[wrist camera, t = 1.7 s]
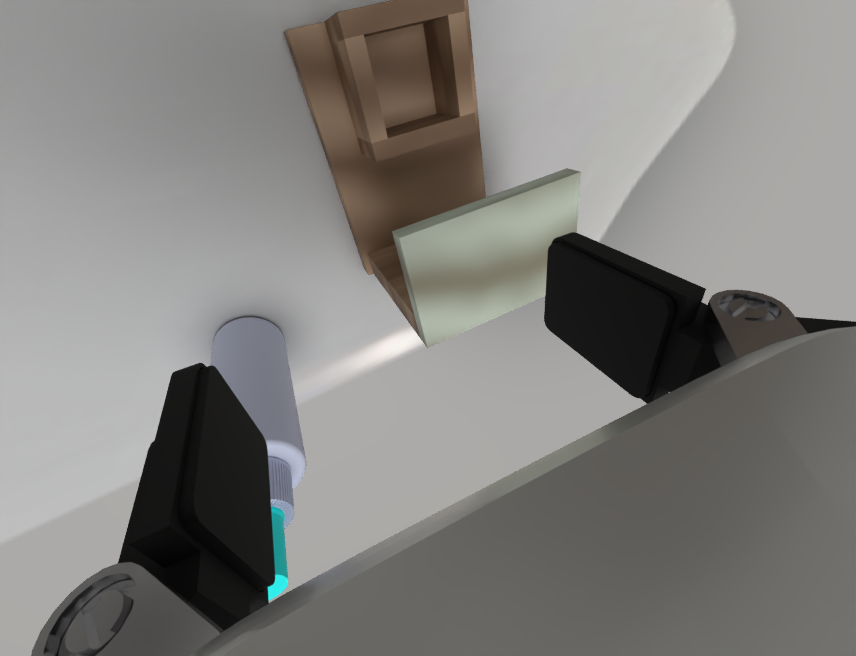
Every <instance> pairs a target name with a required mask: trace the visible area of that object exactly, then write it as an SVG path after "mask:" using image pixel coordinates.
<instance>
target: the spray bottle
mask: <svg viewBox="0 0 856 656" xmlns="http://www.w3.org/2000/svg"><path fill="white" fill-rule="evenodd" d="M211 365H213V366H215V367H216V368H217V370H218V371H219V372H220V374H221V375H222V377H223V378H224V380H225V381H226V383H227V384H228V385H229V387H230V388H231V390H232V391H233V393H234V394H235V396H236V397H237V398H238V400H239V401H240V403H241V404H242V406H243V407H244V408H245V410H246V411H247V413H248V414H249V416H250V417H251V419H252V420H253V421H254V423H255V424H256V426H257V427H258V429H259V430H260V432H261V433H262V435H263V436H264V438H265V441H266V444H267V449H268V465H269V481H270V497H271V513H272V529H273V545H274V561H275V582H274V584H273V585H271V586H269V587H268V601H269V600H271V599H272V598H274V597H276V596H277V595H279V594H280V593H281V592H282V591H283V590H284V589H285V588H286V587H287V585H288V574H287V561H286V548H285V535H284V529H285V528H286V527H287V526H288V525H289V524H290V522H291V521H292V520H293V517H294V503H293V489H294V488H295V487H296V485H297V484H298V483H299V482H300V480H301V479H302V477H303V475H304V473H305V469H306V458H305V452H304V446H303V440H302V435H301V430H300V424H299V419H298V413H297V407H296V402H295V396H294V390H293V385H292V379H291V374H290V368H289V363H288V357H287V352H286V346H285V341H284V337H283V335H282V333H281V331H280V330H279V329H278V328H277V327H276V326H275V325H274V324H272V323H270V322H269V321H266V320H264V319H260V318H254V317H247V318H240V319H236V320H233V321H231V322H229V323H227V324H226V325H224V326H223V327H222V328H221V329H220V330H219V331H218V332H217V334H216V335H215V338H214V340H213V347H212V357H211Z"/></svg>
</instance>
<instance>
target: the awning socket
mask: <svg viewBox="0 0 856 656" xmlns="http://www.w3.org/2000/svg"><path fill="white" fill-rule="evenodd" d="M284 34H285V37H286V40H287V43H288V46H289V49H290V52H291V55H292V58H293V60H294V63H295V66H296V69H297V72H298V75H299V78H300V81H301V84H302V87H303V90H304V93H305V96H306V99H307V102H308V105H309V108H310V110H311V113H312V116H313V119H314V122H315V125H316V128H317V131H318V134H319V137H320V140H321V143H322V146H323V149H324V152H325V155H326V158H327V161H328V163H329V166H330V169H331V172H332V175H333V178H334V181H335V184H336V187H337V190H338V193H339V196H340V199H341V202H342V205H343V208H344V211H345V213H346V216H347V219H348V222H349V225H350V228H351V231H352V234H353V237H354V240H355V243H356V246H357V249H358V252H359V255H360V258H361V261H362V263H363V266H364V269H365V271H366V272H367V273H368V275H370V274H373V273H374V274H375V276H376V277H377V279H378V280H379V281H380V283H381V284H382V286H383V287H384V288H385V290H386V291H387V293H388V294H389V295H390V297H391V298H392V299H393V301H394V302H395V304H396V305H397V306H398V308H399V309H400V311H401V312H402V313H403V315H404V316H405V318H406V319H407V320H408V322H409V323H410V325H411V326H412V327H413V329H414V330H415V331H416V333H417V334H418V336H419V337H420V338H421V340H422V341H423V343H424V344H425V345H426V347H427V348H429V347H431V346H433V345H435V344H438V343H440V342H442V341H444V340H447V339H449V338H451V337H453V336H456V335H458V334H460V333H462V332H465V331H467V330H469V329H471V328H474V327H476V326H478V325H480V324H482V323H485V322H487V321H489V320H492V319H494V318H496V317H498V316H501V315H503V314H505V313H507V312H510V311H512V310H514V309H516V308H518V307H521V306H523V305H525V304H528V303H530V302H532V301H534V300H537V299H539V298H541V297H543V296H545V295H546V276H547V257H548V248H549V246H550V245H551V243H552V241H553V240H554V239H555V238H557V237H560V236H562V235H565V234H568V233H571V232H575V233H576V231H577V217H578V203H579V188H580V174H581V172H579V171H575V170H571V169H564V170H561V171H558V172H556V173H553V174H550V175H547V176H545V177H542V178H539V179H536V180H533V181H531V182H528V183H525V184H522V185H519V186H517V187H514V188H511V189H508V190H506V191H503V192H500V193H497V194H494V195H492V196H489V197H485V186H484V175H483V164H482V153H481V142H480V131H479V120H478V108H477V97H476V86H475V75H474V64H473V53H472V42H471V31H470V20H469V9H468V0H392V1H387V2H383V3H378V4H373V5H368V6H364V7H359V8H354V9H350V10H345V11H340V12H337V13H335V14H334V15H333V16H331V17H330V18H329V19H327V20H326V21H325V22H321V23H316V24H312V25H307V26H303V27H298V28H293V29H289V30H286V31H285V32H284Z"/></svg>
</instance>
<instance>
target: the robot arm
mask: <svg viewBox="0 0 856 656" xmlns="http://www.w3.org/2000/svg"><path fill="white" fill-rule="evenodd" d="M705 290H706V289H705V288H703V287H701V286H698V285H696V284H694V283H691V282H689V281H687V280H684V279H682V278H680V277H677V276H675V275H673V274H670V273H668V272H666V271H663V270H661V269H659V268H657V267H654V266H652V265H650V264H647V263H645V262H643V261H640V260H638V259H636V258H634V257H631V256H629V255H627V254H624V253H622V252H620V251H617V250H615V249H613V248H610V247H608V246H606V245H604V244H601V243H599V242H597V241H594V240H592V239H590V238H587V237H585V236H583V235H580V234H578V233H575V232H571V233H568V234H565V235H562V236H560V237H557V238H555V239H554V240H553V241H552V243H551V245H550V246H549V248H548V257H547V276H546V295H545V315H544V321H545V324H546V326H547V328H548V329H549V330H550V331H551V332H552V333H554V334H555V335H556V336H557V337H559V338H560V339H561V340H562V341H564V342H565V343H566V344H568V345H569V346H570V347H571V348H572V349H574V350H575V351H576V352H578V353H579V354H580V355H581V356H583V357H584V358H585V359H587V360H588V361H589V362H590V363H591V364H593V365H594V366H595V367H596V368H598V369H599V370H601V371H602V372H603V373H604V374H605V375H607V376H608V377H609V378H611V379H612V380H613V381H614V382H615V383H617V384H618V385H619V386H620V387H622V388H623V389H624V390H626V391H627V392H628V393H629V394H631V395H632V396H634V397H636V398H641V399H642V400H643V401H645V402H646V403H647V404H646V405H644V406H642V407H641V408H639V409H637V410H635V411H633V412H631V413H629V414H627V415H625V416H623V417H621V418H619V419H617V420H615V421H613V422H611V423H609V424H608V425H605V426H603V427H601V428H600V429H597V430H596V431H594V432H592V433H590V434H588V435H586V436H584V437H582V438H580V439H578V440H576V441H574V442H572V443H570V444H568V445H566V446H564V447H563V448H561V449H559V450H557V451H555V452H553V453H551V454H549V455H547V456H545V457H543V458H541V459H539V460H537V461H535V462H534V463H531V464H530V465H528V466H526V467H524V468H522V469H520V470H518V471H516V472H514V473H512V474H510V475H508V476H506V477H504V478H502V479H500V480H499V481H497V482H495V483H493V484H491V485H489V486H487V487H485V488H483V489H481V490H479V491H477V492H476V493H474V494H472V495H470V496H468V497H466V498H464V499H462V500H460V501H458V502H456V503H455V504H453V505H451V506H449V507H447V508H445V509H443V510H441V511H439V512H437V513H435V514H433V515H432V516H430V517H428V518H426V519H424V520H422V521H420V522H418V523H416V524H414V525H412V526H410V527H408V528H407V529H405V530H403V531H401V532H399V533H397V534H395V535H393V536H391V537H389V538H388V539H386V540H384V541H382V542H380V543H378V544H376V545H374V546H372V547H370V548H368V549H367V550H365V551H363V552H361V553H359V554H357V555H356V556H354V557H352V558H350V559H348V560H347V561H345V562H343V563H341V564H339V565H337V566H335V567H333V568H332V569H330V570H328V571H326V572H324V573H322V574H321V575H319V576H317V577H315V578H313V579H311V580H310V581H308V582H306V583H304V584H302V585H301V586H298V587H297V588H295V589H293V590H291V591H289V592H287V593H286V594H284V595H282V596H281V597H279V598H277V599H276V600H274V601H272V602H270V603H268V587H269V586H271V585H273V584H274V582H275V561H274V545H273V529H272V513H271V497H270V481H269V465H268V449H267V444H266V441H265V438H264V436H263V435H262V433H261V432H260V430H259V429H258V427H257V426H256V424H255V423H254V421H253V420H252V419H251V417H250V416H249V414H248V413H247V411H246V410H245V408H244V407H243V406H242V404H241V403H240V401H239V400H238V398H237V397H236V396H235V394H234V393H233V391H232V390H231V388H230V387H229V385H228V384H227V383H226V381H225V380H224V378H223V377H222V375H221V374H220V372H219V371H218V370H217V368H216V367H215V366H213V365H211V366H208V367H206V366H205V365H204V364H203V363H198V364H195V365H192V366H190V367H187V368H184V369H181V370H178V371H175V372H173V374H172V376H171V379H170V383H169V387H168V391H167V395H166V399H165V403H164V407H163V410H162V414H161V418H160V422H159V426H158V430H157V434H156V438H155V441H154V442H152V443H151V445H150V447H149V450H148V453H147V457H146V461H145V464H144V468H143V472H142V476H141V479H140V483H139V487H138V491H137V495H136V498H135V502H134V506H133V510H132V513H131V517H130V520H129V524H128V528H127V532H126V535H125V539H124V543H123V547H122V551H121V555H120V558H119V562H118V563H117V564H115V565H112V566H110V567H107V568H104V569H102V570H101V571H99V572H98V573H96V574H94V575H93V576H91V577H90V578H88V579H86V580H85V581H84V582H83V583H82V584H81V585H79V586H78V587H77V588H76V589H75V590H74V591H72V592H71V593H70V594H69V595H68V596H67V597H66V598H65V600H64V601H63V602H62V603H61V604H60V605H59V606H58V607H57V609H56V610H55V611H54V612H53V614H52V615H51V617H50V618H49V620H48V621H47V623H46V624H45V626H44V627H43V629H42V630H41V632H40V634H39V636H38V639H37V641H36V643H35V646H34V648H33V650H32V655H31V656H856V322H851V321H839V320H825V319H813V318H800V317H795V316H794V315H793V314H792V312H791V311H790V310H789V309H788V307H786V306H785V305H784V304H783V303H782V302H780V301H778V300H777V299H775V298H773V297H770V296H767V295H764V294H761V293H757V292H752V291H746V290H726V291H722V292H718V293H716V294H714V295H713V296H712V297H711V299H710V301H709V303H708V305H706V304H704V303H702V302H701V301H702V298H703V295H704V293H705ZM668 392H670V393H668Z"/></svg>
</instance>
